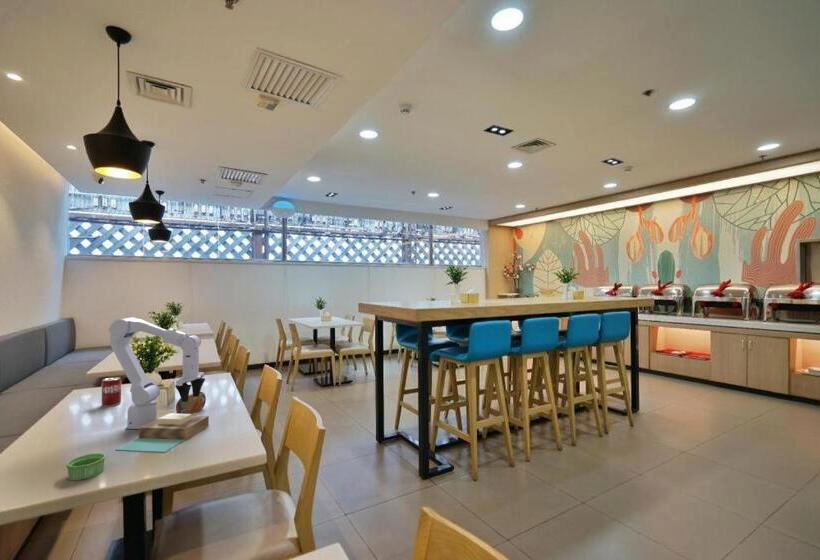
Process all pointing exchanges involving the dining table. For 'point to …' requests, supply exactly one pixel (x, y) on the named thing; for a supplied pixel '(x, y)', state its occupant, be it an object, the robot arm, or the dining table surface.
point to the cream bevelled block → (174, 419)
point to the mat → (150, 445)
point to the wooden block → (174, 429)
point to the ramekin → (85, 466)
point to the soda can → (111, 391)
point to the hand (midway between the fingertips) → (190, 399)
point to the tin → (191, 404)
